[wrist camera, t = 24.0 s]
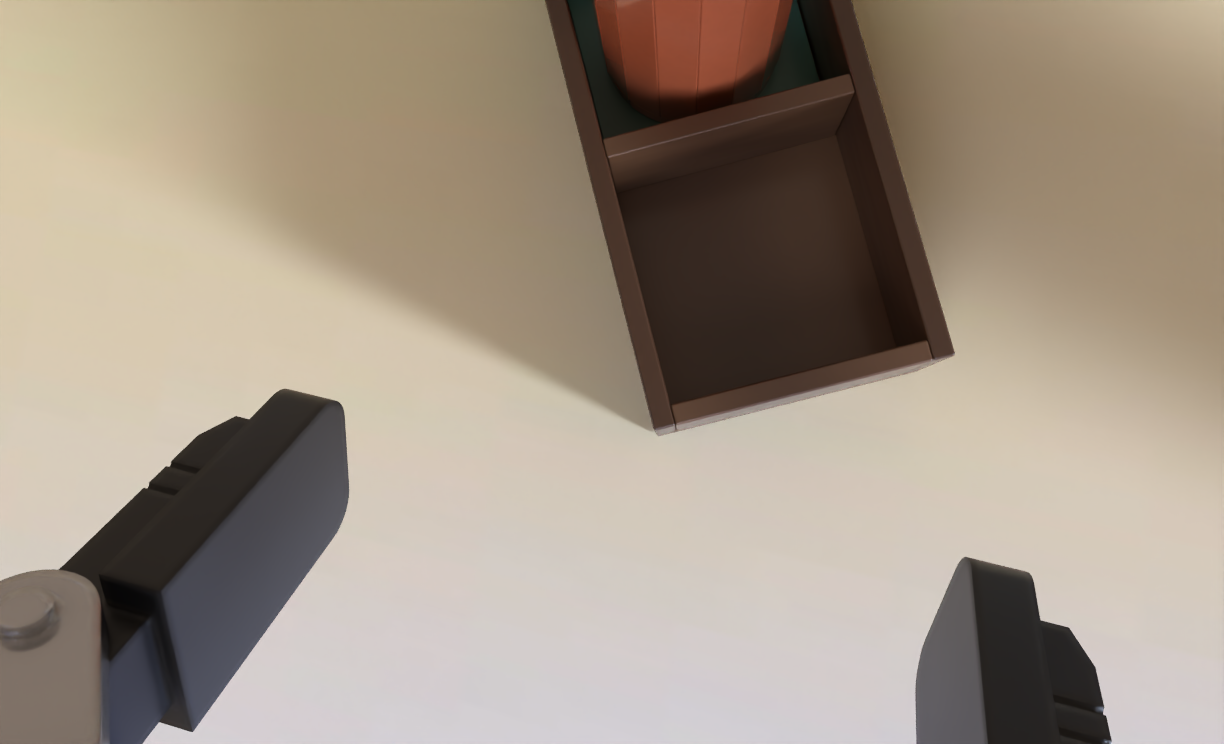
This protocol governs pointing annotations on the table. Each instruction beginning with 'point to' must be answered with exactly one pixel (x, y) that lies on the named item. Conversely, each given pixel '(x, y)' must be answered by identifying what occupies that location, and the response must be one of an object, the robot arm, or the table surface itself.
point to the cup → (690, 51)
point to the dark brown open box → (758, 228)
